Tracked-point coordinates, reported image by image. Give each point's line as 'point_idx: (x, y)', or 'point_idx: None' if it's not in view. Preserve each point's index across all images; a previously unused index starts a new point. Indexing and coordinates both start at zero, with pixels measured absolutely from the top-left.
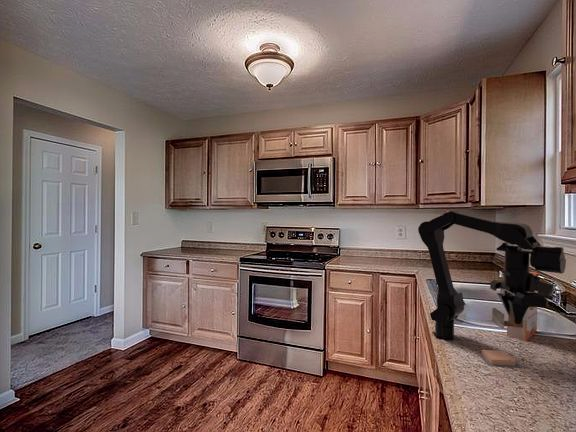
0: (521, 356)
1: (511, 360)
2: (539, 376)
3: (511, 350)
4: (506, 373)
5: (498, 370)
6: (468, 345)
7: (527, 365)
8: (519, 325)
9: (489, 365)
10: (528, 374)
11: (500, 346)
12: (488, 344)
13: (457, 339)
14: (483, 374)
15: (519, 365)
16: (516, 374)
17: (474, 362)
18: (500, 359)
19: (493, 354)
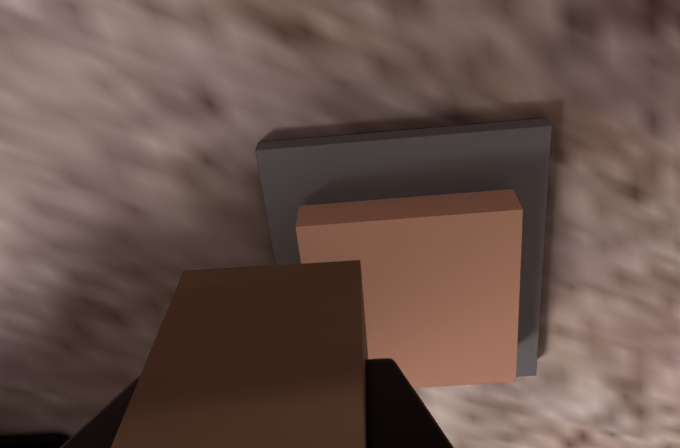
0: (210, 7)
1: (520, 242)
2: (659, 31)
3: (73, 51)
4: (610, 277)
5: (562, 313)
6: (113, 379)
7: (430, 41)
8: (365, 334)
9: (526, 369)
10: (622, 115)
11: (4, 126)
12: (4, 222)
13: (49, 443)
14: (631, 417)
15: (497, 147)
16: (625, 212)
17: (445, 419)
18: (510, 321)
19: (407, 339)
